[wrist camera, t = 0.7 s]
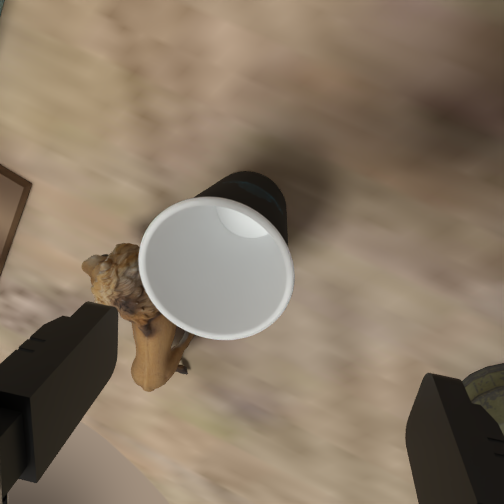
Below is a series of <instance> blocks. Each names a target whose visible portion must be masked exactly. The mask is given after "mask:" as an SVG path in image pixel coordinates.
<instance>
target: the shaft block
mask: <svg viewBox="0 0 504 504" xmlns="http://www.w3.org/2000/svg"><path fill="white" fill-rule="evenodd" d="M31 186H32V184H31V183H29V182H28V181H26V180H24V179H23V178H21V177H19V176H18V175H16V174H14V173H13V172H11V171H9V170H8V169H6V168H4V167H3V166H1V165H0V275H1V272H2V269H3V266H4V263H5V260H6V257H7V255H8V252H9V249H10V246H11V243H12V240H13V237H14V234H15V232H16V229H17V226H18V223H19V220H20V217H21V214H22V211H23V209H24V206H25V203H26V200H27V197H28V194H29V191H30V188H31Z"/></svg>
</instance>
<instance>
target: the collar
mask: <svg viewBox="0 0 504 504" xmlns="http://www.w3.org/2000/svg"><path fill="white" fill-rule="evenodd" d="M3 3H4V0H0V15H1V11H2V7H3Z"/></svg>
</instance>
